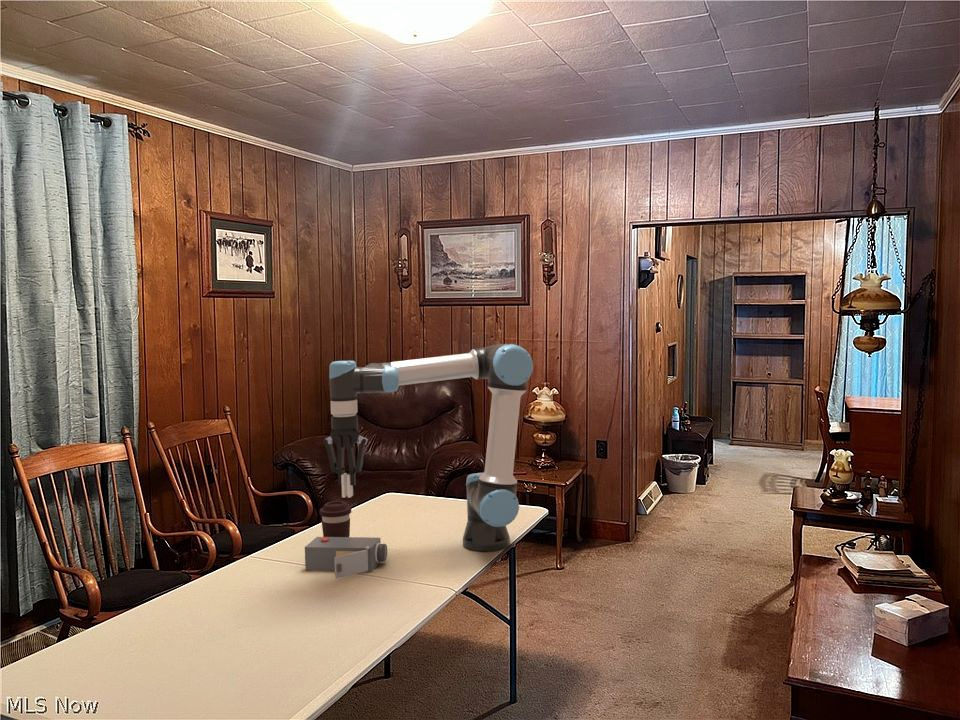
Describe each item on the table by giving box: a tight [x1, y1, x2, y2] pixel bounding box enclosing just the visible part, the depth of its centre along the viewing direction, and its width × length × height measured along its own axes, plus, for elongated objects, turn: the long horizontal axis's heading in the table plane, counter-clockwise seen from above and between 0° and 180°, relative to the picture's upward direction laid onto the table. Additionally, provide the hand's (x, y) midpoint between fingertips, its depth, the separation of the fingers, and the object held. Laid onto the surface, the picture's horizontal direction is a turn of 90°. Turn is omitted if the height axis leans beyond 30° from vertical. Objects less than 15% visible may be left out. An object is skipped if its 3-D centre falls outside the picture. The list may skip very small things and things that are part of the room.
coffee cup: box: [319, 500, 352, 537], centre depth 229 cm, size 10×10×15 cm
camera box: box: [304, 536, 388, 573], centre depth 213 cm, size 22×11×8 cm, turn 82°
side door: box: [334, 550, 368, 580], centre depth 204 cm, size 10×1×6 cm, turn 127°
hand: (347, 496), depth 206 cm, fingers closed
